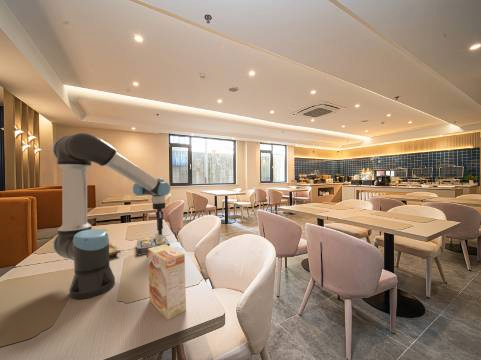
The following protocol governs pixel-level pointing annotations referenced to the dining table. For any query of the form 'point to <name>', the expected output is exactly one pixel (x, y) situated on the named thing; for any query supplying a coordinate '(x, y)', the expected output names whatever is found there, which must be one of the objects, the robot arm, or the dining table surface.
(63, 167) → the robot arm
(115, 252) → the puzzle game
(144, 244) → the button
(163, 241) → the button
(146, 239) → the button
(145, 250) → the button board
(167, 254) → the coffeecake box
